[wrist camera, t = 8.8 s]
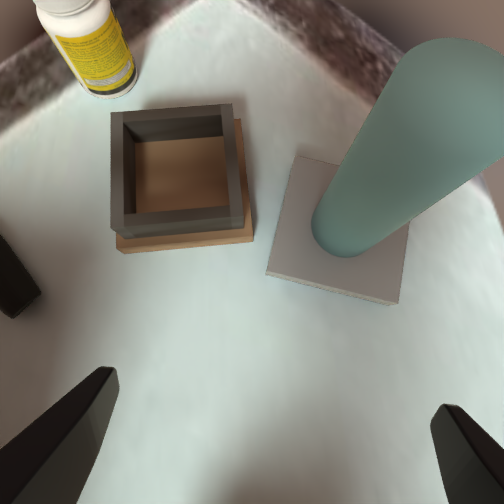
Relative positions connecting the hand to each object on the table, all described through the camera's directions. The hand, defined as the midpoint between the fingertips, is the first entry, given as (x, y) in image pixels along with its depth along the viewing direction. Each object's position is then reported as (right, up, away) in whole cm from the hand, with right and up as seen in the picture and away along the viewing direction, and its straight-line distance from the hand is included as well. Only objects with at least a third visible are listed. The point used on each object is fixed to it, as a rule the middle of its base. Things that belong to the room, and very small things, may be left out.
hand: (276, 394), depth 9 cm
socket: (-6, +9, +16) cm, 19 cm away
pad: (+6, +5, +15) cm, 17 cm away
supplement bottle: (-13, +19, +19) cm, 29 cm away
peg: (+6, +6, +14) cm, 16 cm away
